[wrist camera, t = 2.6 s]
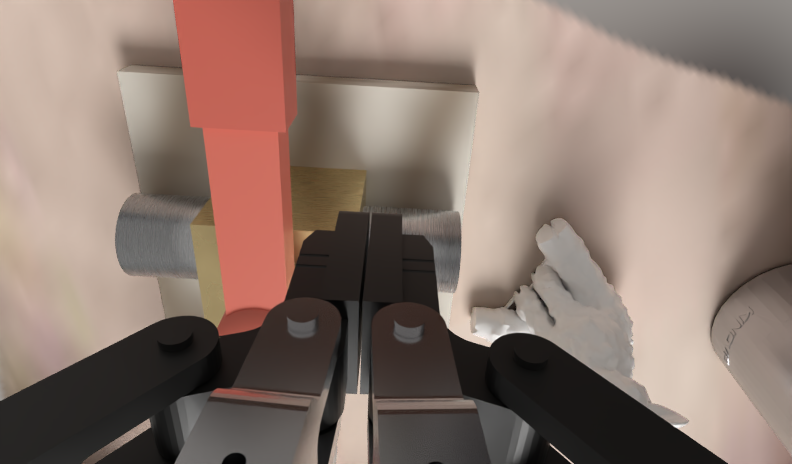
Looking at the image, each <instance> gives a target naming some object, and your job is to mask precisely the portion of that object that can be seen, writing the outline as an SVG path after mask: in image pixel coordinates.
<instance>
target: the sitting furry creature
mask: <svg viewBox="0 0 792 464" xmlns="http://www.w3.org/2000/svg"><path fill="white" fill-rule="evenodd" d="M536 242H537V245H538V247H539V249H540V250H541V252H542V253H543V254H544V257H545V259H544V260H543V262H542V263H541V265H539V266H537V268H536V272H535V273H533V272H532V274H531V276H532V281H533V283H532V284H531V285H530V286H526V285H522V286H520V290H521V292H520V294H519V293H518V292H517V291H516V290H515V292H514V296H513V297H512V298H511V300H510V301H509V302H508V303H507V304H506V305H505V306H504V307H500V308H496V309H491V308H486V307H473V308H472V313H471V320H470V329H471V333H472V334H473V335H475V336H477V337H481V338H485V340H486V341H487V342H491V343H493V342H494V341H495V340H496V339H497V338H499V337H501V336H503V335H506V334H510V333H529V334H533V335H537V336H540V337H543V338H545V339H547V340H549V341H551V342H553V343H554V344H556V345H557V346H559V347H560V348H562V349H563V350H564V351H566V352H567V353H569V354H570V355H572V356H573V357H575V358H576V359H577V360H579V361H580V362H582V363H583V364H585V365H586V366H588V367H589V368H590V369H592V370H593V371H595V372H596V373H598V374H599V375H601V376H602V377H603V378H605V379H606V380H608V381H609V382H611V383H612V384H614V385H615V386H617V387H618V388H619V389H621V390H622V391H624V392H625V393H627V394H628V395H630V396H631V397H632V398H634V399H635V400H637V401H638V402H640V403H641V404H643V405H644V406H645V407H647V408H648V409H650V410H651V411H653V412H654V413H656V414H657V415H658V416H660V417H661V418H663V419H664V420H666V421H667V422H669V423H670V424H671V425H673V426H674V427H676V428H680V427H684V426H685V425H686V424H687V423H688V422H689V420H688V419H687V418H685V417H683V416H682V415H680V414H678V413H677V412H675V411H673V410H671V409H668V408H666V407H664V406H661V405H658V404H653V403H651V401H650V398H649V396H648V394H647V391H646V389H645V387H644V386H642V385H641V384H639V383H638V382H636V381H635V380H633V379H632V376H633V374H632V370H633V369H634V366H635V364H634V358H633V356H632V352H633V347H632V345H633V340H632V339H631V337H632V336H633V333H632V329H631V328H632V326H633V321H632V320H631V319H630V317H629V316H628V314H627V308H626V307H625V306H624V305H623V304H622V299H621V296H620V295H618V294H617V293H616V292H615V290H614V287H613V285H612V284H609V283H607V278H606V277H605V276H604V275H603V273H602V270H601V268H600V267H599V266H598V264H597V263H596V262H595V261H593V260H592V259H591V258H590V254H589V252H590V251H589V250H588V249H587V247H586V246H585V245H584V241H583V240H582V238H581V237H579V236H578V235H577V234H576V233H575V232H574V230H573V228H572V227H571V226H570V225H569V223H568V222H567V221H566V220H564V219H562V218H556V219H553V220H552V221H551V226H550V225H547V224H544V225H543V227H542V228H541V229H540V230H539V231H538V232H537V234H536ZM533 287H534V289H535V290H536V291H537V293H538V294H539V295H540V297H541V298H542V300H543V301H542V300H539V295H538V294H537V293H536V292H535V291H534V290H533V289H532V288H533ZM514 301H515V304H516V306H517V308H516V311H513V310H512V309H511V310H508V308H509V307H510V306H511V304H512V303H513V302H514Z"/></svg>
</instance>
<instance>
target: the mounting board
mask: <svg viewBox="0 0 792 464" xmlns="http://www.w3.org/2000/svg"><path fill="white" fill-rule="evenodd" d="M117 75H118V80H119V85H120V90H121V95H122V100H123V105H124V110H125V116H126V121H127V126H128V131H129V136H130V141H131V146H132V151H133V156H134V161H135V166H136V171H137V176H138V181H139V186H140V191H141V193H146V194H163V195H181V196H199V197H211V191H210V183H209V175H208V167H207V159H206V151H205V143H204V136H203V128H198V127H190V120H189V112H188V105H187V98H186V91H185V83H184V76H183V69H182V68H173V67H156V66H139V65H130V66H127V67H125V68H123V69H121V70H119V71H117ZM296 91H297V115H296V117H295V119H294V120H293V122H292V124H291V125H290V127H289V128H288V134H289V156H290V166H301V167H318V168H336V169H353V170H367V174H366V206H376V207H394V208H412V209H429V210H447V211H459V213H460V219H461V229H462V221H463V214H464V206H465V198H466V191H467V183H468V175H469V168H470V160H471V152H472V145H473V137H474V129H475V121H476V114H477V106H478V98H479V91H478V89H477V87H476V85H461V84H444V83H427V82H410V81H393V80H376V79H359V78H342V77H325V76H308V75H296ZM158 283H159V288H160V293H161V298H162V303H163V308H164V313H165V318H166V319H167V318H171V317H176V316H197V317H202V318H204V313H203V306H202V300H201V293H200V287H199V280H198V279H182V278H164V277H158ZM452 298H453V293H438V300H439V309H440V315H441V316H442V317H443V319H444V320H445V323H446V325H447V328H448V329H449V321H450V314H451V306H452Z"/></svg>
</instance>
